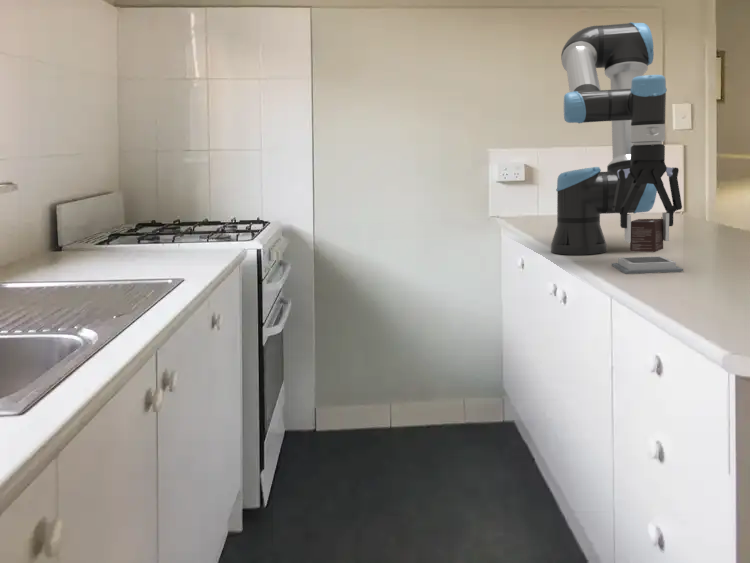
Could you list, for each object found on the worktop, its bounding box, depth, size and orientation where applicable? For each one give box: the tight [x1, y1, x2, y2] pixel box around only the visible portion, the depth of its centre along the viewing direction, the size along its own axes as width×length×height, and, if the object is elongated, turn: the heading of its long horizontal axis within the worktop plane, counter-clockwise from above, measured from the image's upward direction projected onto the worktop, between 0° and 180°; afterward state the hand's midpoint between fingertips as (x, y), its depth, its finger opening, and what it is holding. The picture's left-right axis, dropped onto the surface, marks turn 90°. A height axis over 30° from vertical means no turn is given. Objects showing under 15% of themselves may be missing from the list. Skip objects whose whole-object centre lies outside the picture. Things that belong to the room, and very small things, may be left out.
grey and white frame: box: [611, 255, 684, 275], centre depth 182 cm, size 13×13×2 cm
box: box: [629, 218, 664, 253], centre depth 181 cm, size 6×6×7 cm
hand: (646, 240), depth 181 cm, fingers closed on box, 8 cm apart
